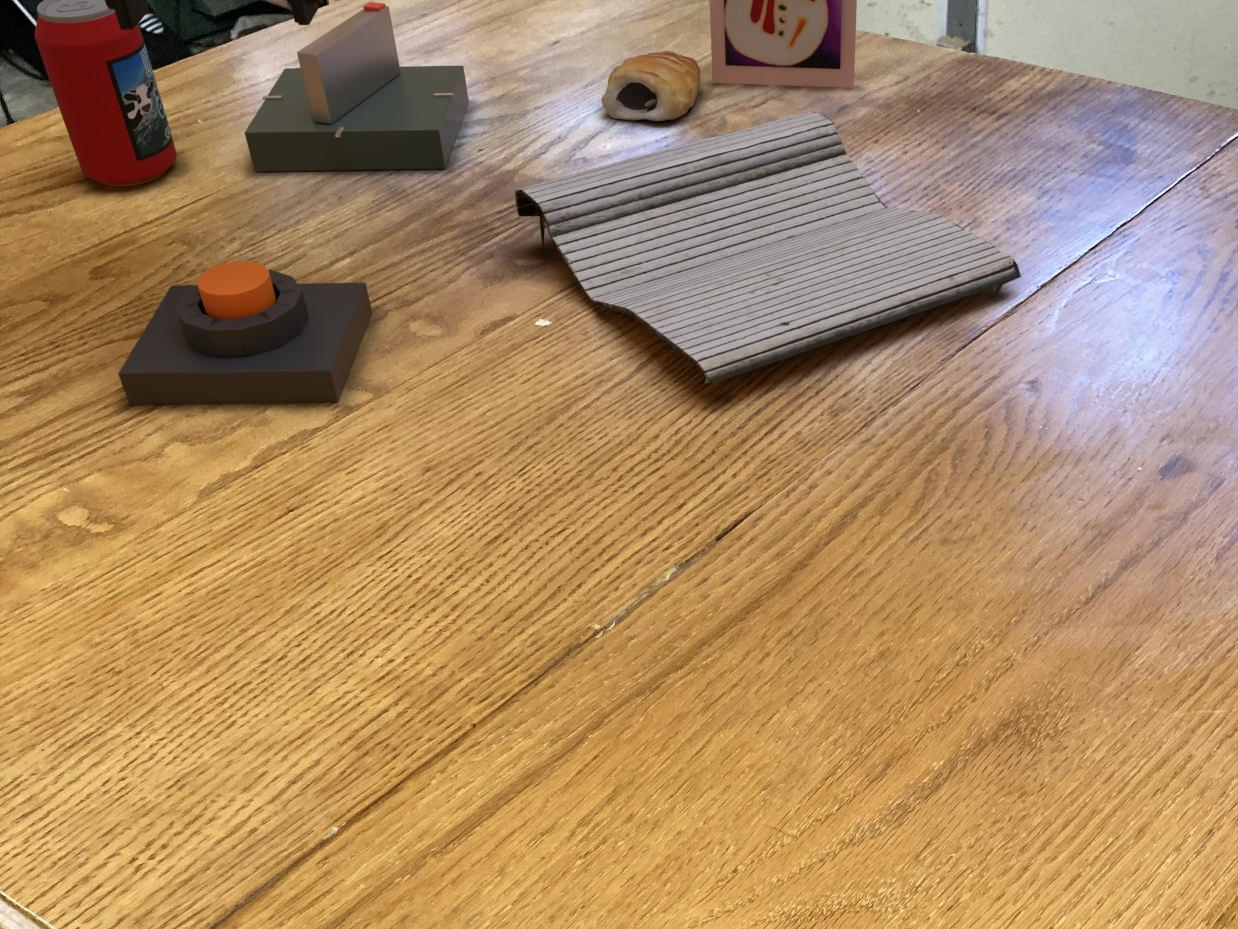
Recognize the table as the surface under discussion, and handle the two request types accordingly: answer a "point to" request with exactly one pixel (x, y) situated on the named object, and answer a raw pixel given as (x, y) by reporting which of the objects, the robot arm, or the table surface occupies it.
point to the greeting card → (783, 42)
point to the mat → (755, 245)
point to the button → (236, 290)
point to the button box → (250, 348)
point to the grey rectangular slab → (349, 63)
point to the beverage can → (105, 92)
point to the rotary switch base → (362, 125)
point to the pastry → (652, 87)
